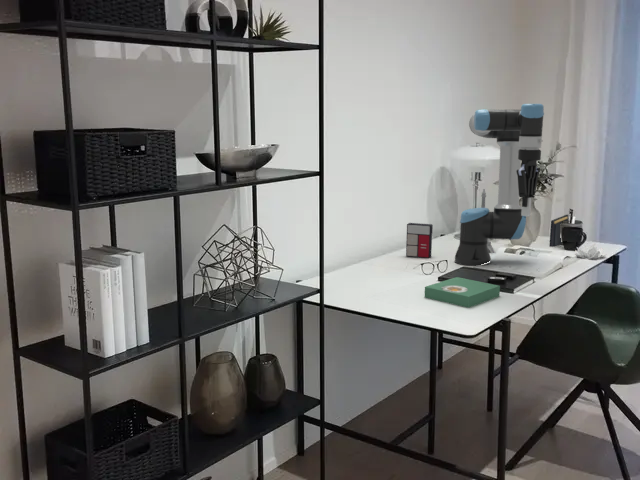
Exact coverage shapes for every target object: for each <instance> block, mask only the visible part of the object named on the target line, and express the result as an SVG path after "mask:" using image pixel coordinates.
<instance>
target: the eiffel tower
mask: <svg viewBox="0 0 640 480" xmlns="http://www.w3.org/2000/svg"><path fill="white" fill-rule="evenodd" d="M480 197H481V205H480V206H481V207H480V208H486V197H487V193H486V188H483V189H482V192H481V196H480ZM487 247H488V250H489V253H490V254H496V251H495V250H494V247H493V245H492V241H491V239H488V240H487Z"/></svg>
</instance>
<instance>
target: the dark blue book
mask: <svg viewBox="0 0 640 480" xmlns="http://www.w3.org/2000/svg"><path fill="white" fill-rule="evenodd" d="M568 219H569V214H564V215H562V216H559V217H556V218H555V219H551V220H550V231H549V244H548V245H549V247H550V248H551V247H552V248H553V247H556V246H559V245H561V244H562V243H561V238H560V224H561V223H562V221H568ZM568 222H569V221H568Z"/></svg>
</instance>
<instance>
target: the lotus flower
mask: <svg viewBox="0 0 640 480" xmlns="http://www.w3.org/2000/svg"><path fill="white" fill-rule="evenodd" d="M584 246H585V247H584V250H582V249H580V248H579V247H577V246H576V249H577V250H576V249H575V251H574V252H575V253H574V256H575V257H577V258H581V259H587V260H599V259H601V258H603V257H605V256H607V254H604V255H603V252H604V249H603V247H602V248H601V247H600V248H598V247H597V244H596V243H595V242H593V244H591V245H589V246H586V243H584Z"/></svg>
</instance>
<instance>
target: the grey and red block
mask: <svg viewBox="0 0 640 480" xmlns="http://www.w3.org/2000/svg"><path fill="white" fill-rule="evenodd" d="M405 244H406V247H405V248H406V250H405V256H406V257H408V258H409V257H410V258H420V259H421V258H422V259H430V258H432V250H433V249H432V248H433V247H432V245H433V224H432V223H418V222H408V223H407V224H406V242H405Z"/></svg>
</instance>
